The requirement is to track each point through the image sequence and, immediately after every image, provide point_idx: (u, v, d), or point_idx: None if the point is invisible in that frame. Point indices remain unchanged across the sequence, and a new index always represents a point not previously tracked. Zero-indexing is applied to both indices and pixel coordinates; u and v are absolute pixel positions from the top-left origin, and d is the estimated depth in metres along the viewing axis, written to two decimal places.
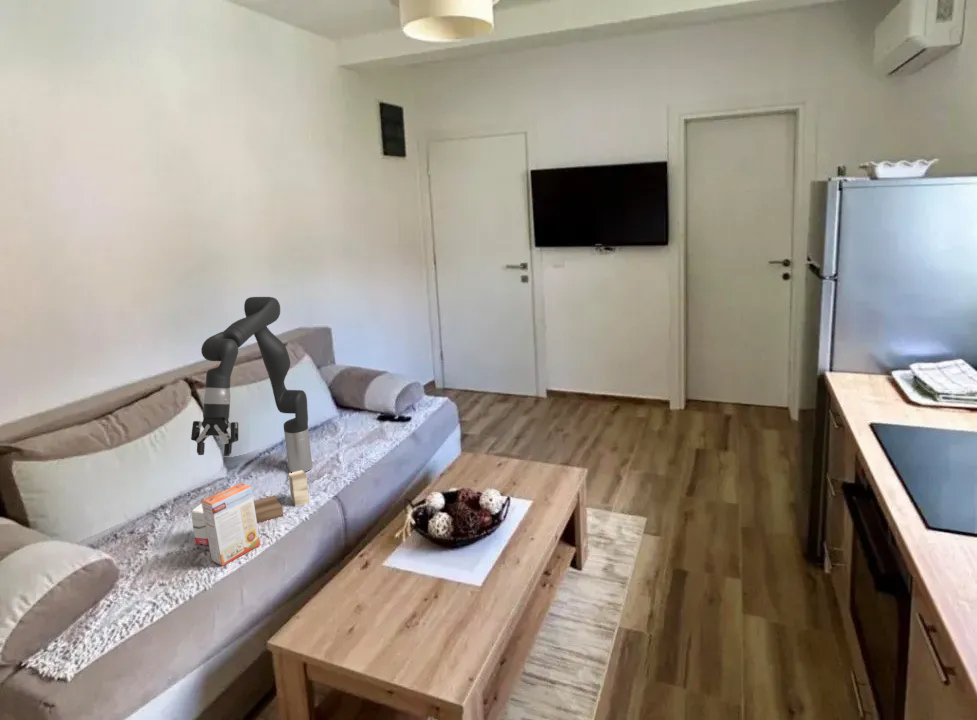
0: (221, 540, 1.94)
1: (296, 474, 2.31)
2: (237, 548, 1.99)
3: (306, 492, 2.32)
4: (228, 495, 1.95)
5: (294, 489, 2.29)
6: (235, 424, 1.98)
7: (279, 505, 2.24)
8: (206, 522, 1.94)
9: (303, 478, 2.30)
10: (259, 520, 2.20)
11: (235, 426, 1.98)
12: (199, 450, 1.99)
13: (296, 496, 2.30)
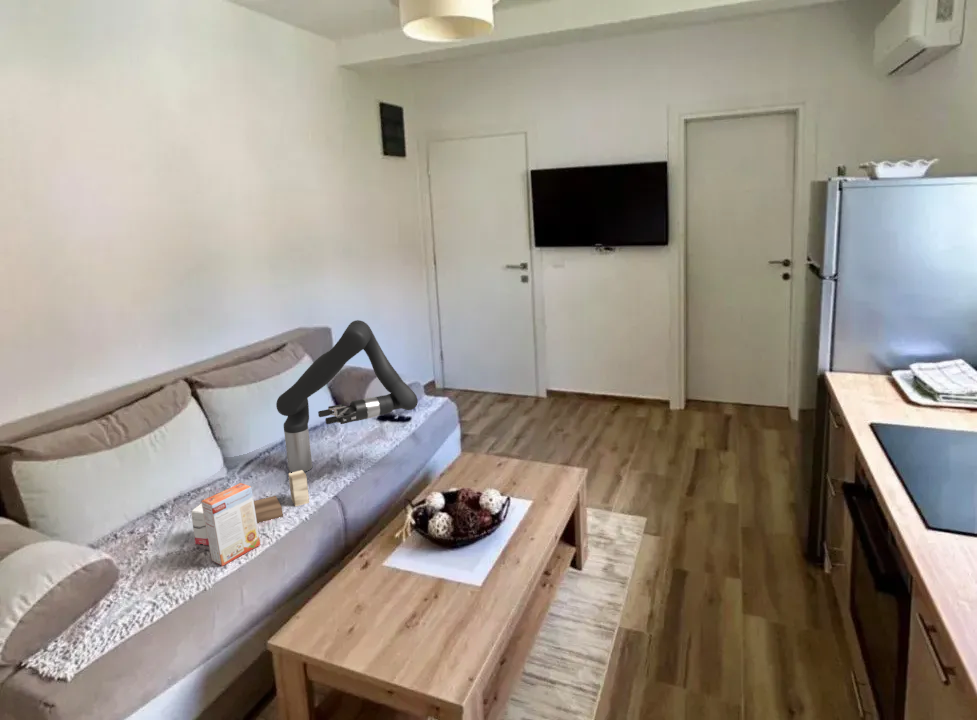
0: (221, 540, 1.94)
1: (296, 474, 2.31)
2: (237, 548, 1.99)
3: (306, 492, 2.32)
4: (228, 495, 1.95)
5: (294, 489, 2.29)
6: None
7: (279, 505, 2.24)
8: (206, 522, 1.94)
9: (303, 478, 2.30)
10: (258, 520, 2.20)
11: None
12: None
13: (296, 496, 2.30)
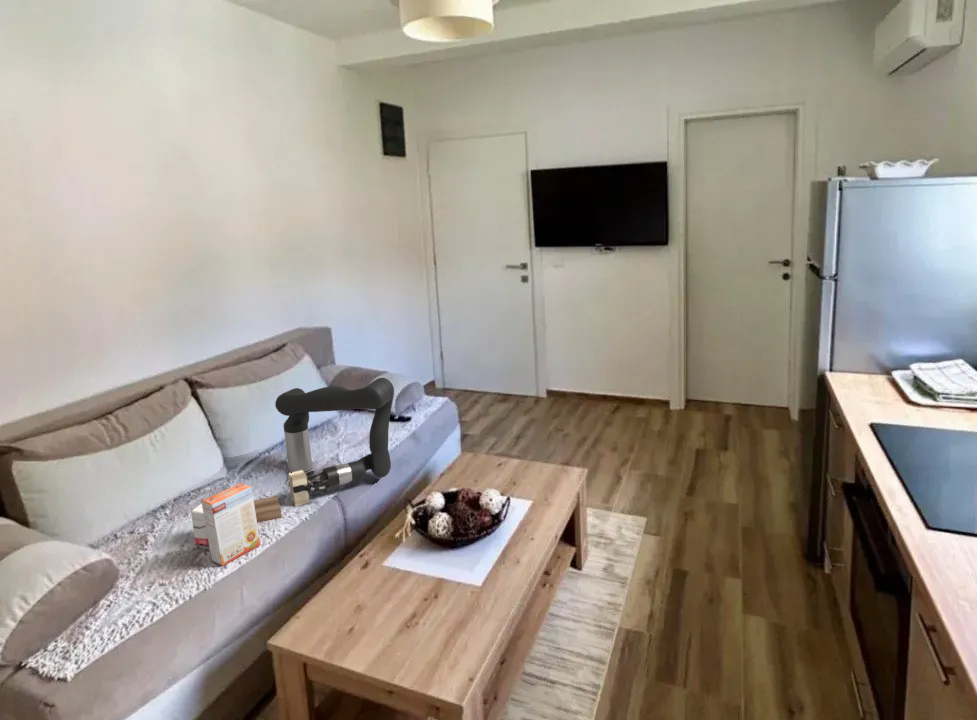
0: (221, 540, 1.94)
1: (296, 474, 2.31)
2: (237, 548, 1.99)
3: (306, 492, 2.32)
4: (228, 495, 1.95)
5: None
6: None
7: (278, 506, 2.23)
8: (206, 522, 1.94)
9: (303, 477, 2.30)
10: (257, 520, 2.20)
11: None
12: None
13: (296, 496, 2.30)
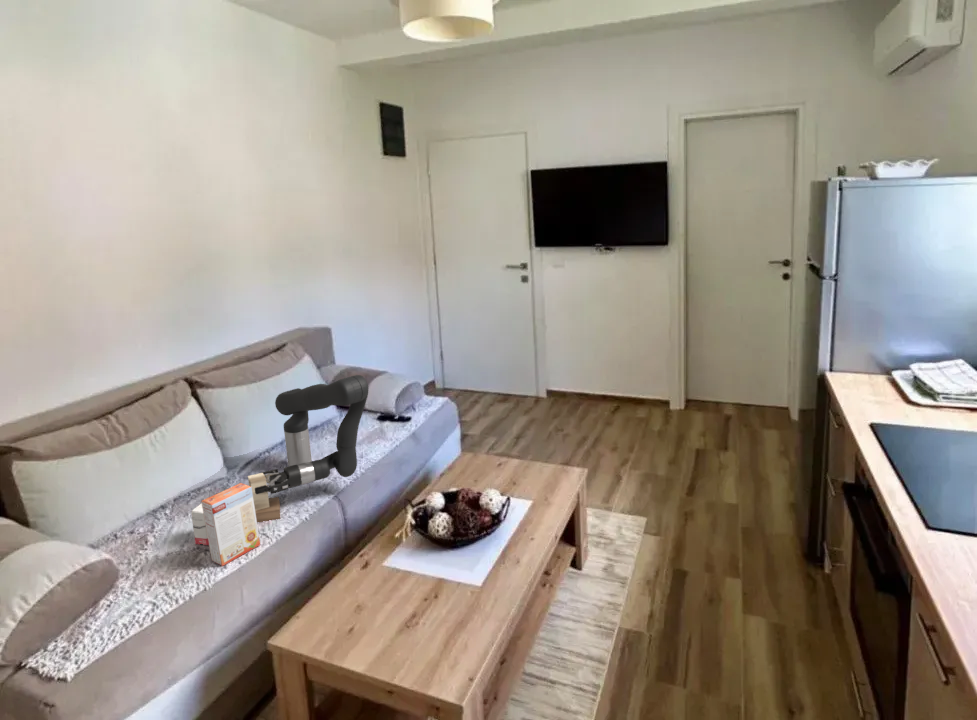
0: (221, 540, 1.94)
1: (256, 477, 2.21)
2: (237, 548, 1.99)
3: (265, 496, 2.22)
4: (228, 495, 1.95)
5: (253, 493, 2.20)
6: None
7: (277, 507, 2.23)
8: (206, 522, 1.94)
9: (262, 481, 2.20)
10: None
11: None
12: None
13: (255, 500, 2.21)
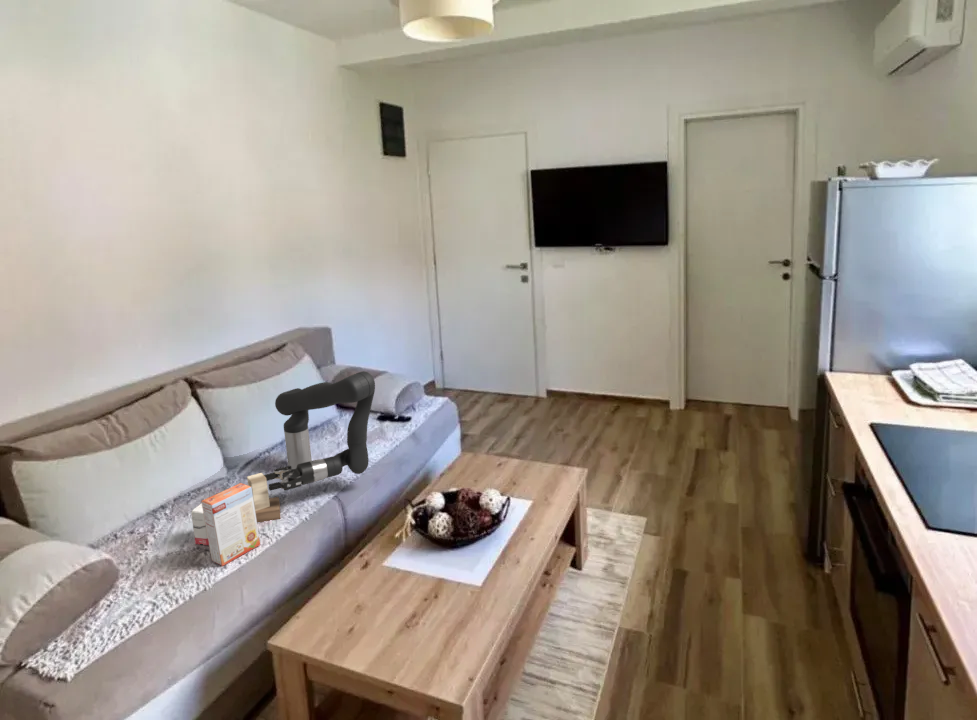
0: (221, 540, 1.94)
1: (255, 478, 2.21)
2: (237, 548, 1.99)
3: (266, 495, 2.22)
4: (228, 495, 1.95)
5: (254, 493, 2.19)
6: None
7: (277, 507, 2.23)
8: (206, 522, 1.94)
9: (263, 481, 2.20)
10: None
11: None
12: None
13: (256, 500, 2.20)
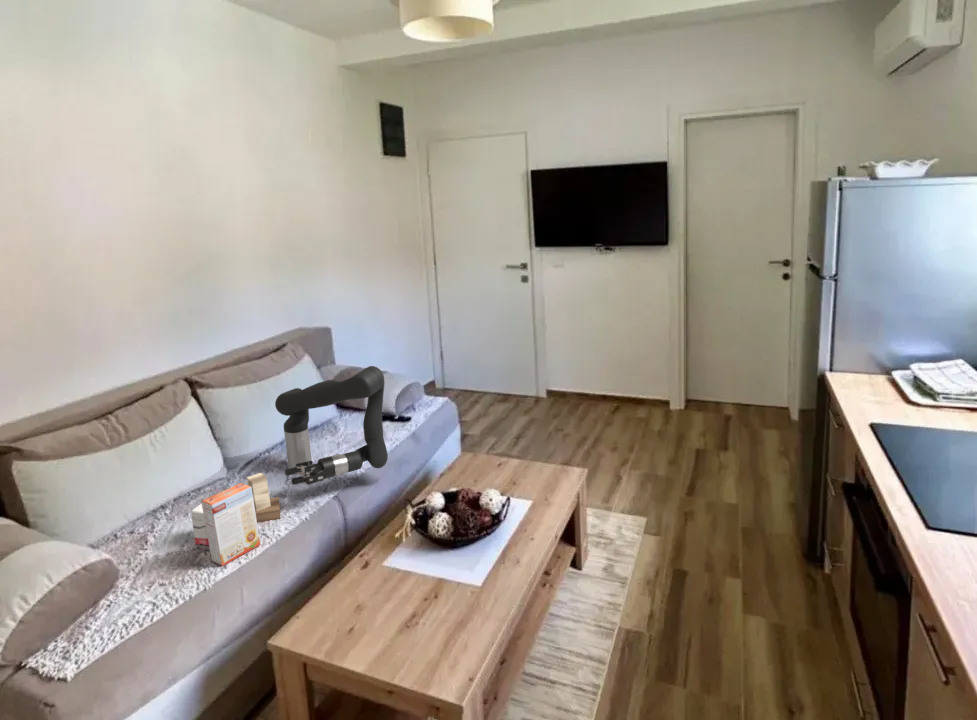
0: (221, 540, 1.94)
1: (256, 478, 2.21)
2: (237, 548, 1.99)
3: (267, 495, 2.22)
4: (228, 495, 1.95)
5: (254, 493, 2.19)
6: None
7: (277, 508, 2.23)
8: (206, 522, 1.94)
9: (263, 480, 2.21)
10: None
11: None
12: None
13: (256, 500, 2.20)
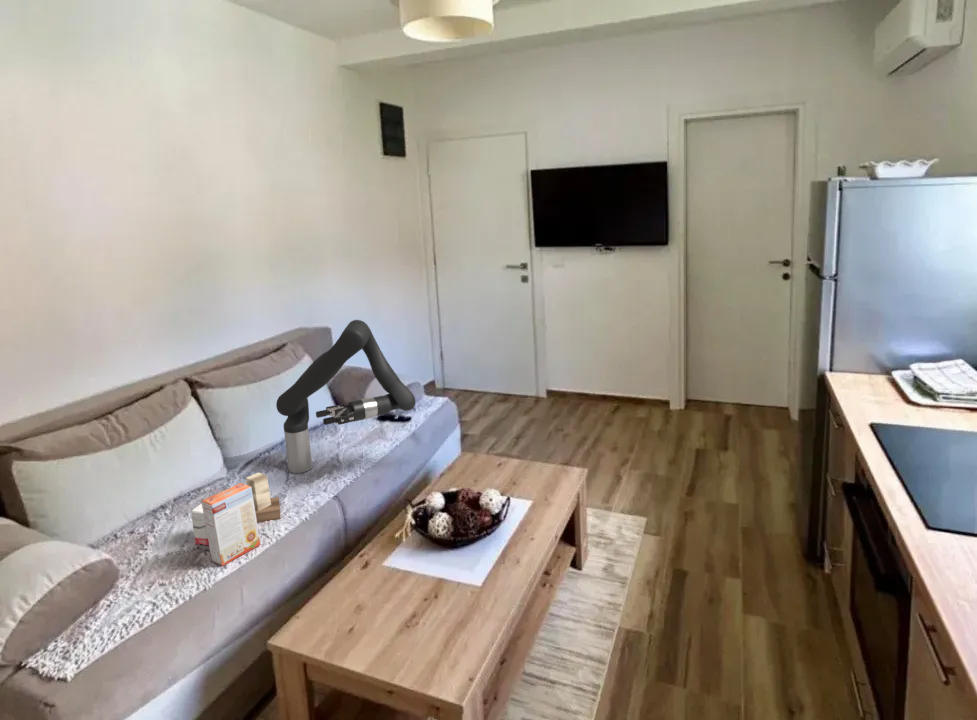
0: (221, 540, 1.94)
1: (256, 477, 2.21)
2: (237, 548, 1.99)
3: (267, 494, 2.23)
4: (228, 495, 1.95)
5: (256, 492, 2.20)
6: None
7: (277, 508, 2.23)
8: (206, 522, 1.94)
9: (264, 479, 2.21)
10: None
11: None
12: None
13: (258, 500, 2.21)
